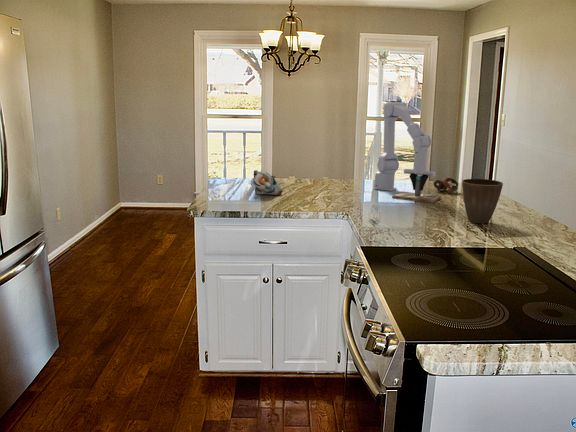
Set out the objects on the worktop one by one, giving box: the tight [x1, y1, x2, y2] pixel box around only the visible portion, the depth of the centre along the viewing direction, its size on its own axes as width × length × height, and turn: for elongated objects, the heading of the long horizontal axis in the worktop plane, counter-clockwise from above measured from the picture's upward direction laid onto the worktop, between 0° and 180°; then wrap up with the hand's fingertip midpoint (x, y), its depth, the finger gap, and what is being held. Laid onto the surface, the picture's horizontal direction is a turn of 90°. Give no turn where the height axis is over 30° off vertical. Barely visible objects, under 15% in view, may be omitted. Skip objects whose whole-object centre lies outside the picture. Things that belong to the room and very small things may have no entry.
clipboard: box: [392, 191, 442, 204], centre depth 256 cm, size 19×14×1 cm
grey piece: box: [252, 169, 284, 196], centre depth 255 cm, size 15×12×14 cm
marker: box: [414, 175, 422, 196], centre depth 254 cm, size 3×3×9 cm
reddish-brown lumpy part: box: [433, 177, 459, 194], centre depth 273 cm, size 12×10×8 cm
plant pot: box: [461, 178, 504, 224], centre depth 210 cm, size 15×15×16 cm
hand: (417, 190), depth 255 cm, fingers closed on marker, 3 cm apart
